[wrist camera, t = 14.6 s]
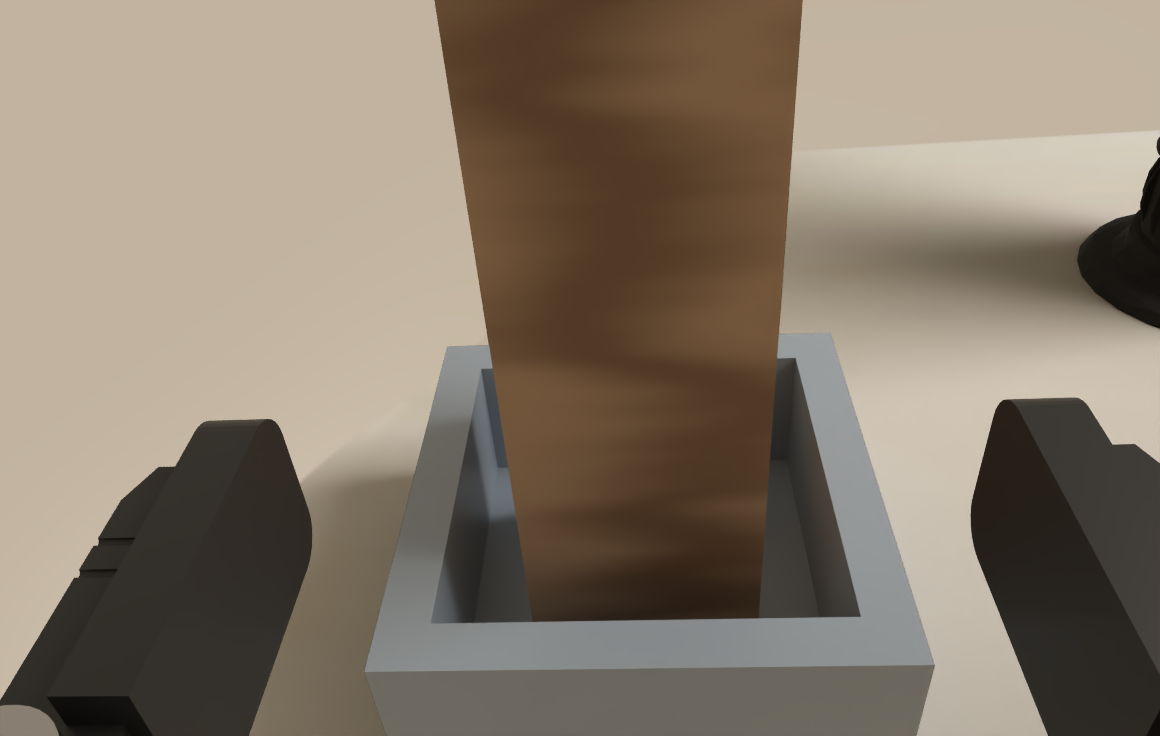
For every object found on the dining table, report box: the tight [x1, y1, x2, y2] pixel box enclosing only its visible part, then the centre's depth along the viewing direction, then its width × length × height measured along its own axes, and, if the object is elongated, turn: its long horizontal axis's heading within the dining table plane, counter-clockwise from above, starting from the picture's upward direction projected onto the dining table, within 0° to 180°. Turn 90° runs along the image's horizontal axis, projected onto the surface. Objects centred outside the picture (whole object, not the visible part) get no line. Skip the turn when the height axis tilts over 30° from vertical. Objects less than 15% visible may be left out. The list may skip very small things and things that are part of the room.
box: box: [364, 333, 935, 736], centre depth 25 cm, size 12×12×5 cm
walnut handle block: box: [435, 0, 803, 622], centre depth 20 cm, size 6×6×20 cm
